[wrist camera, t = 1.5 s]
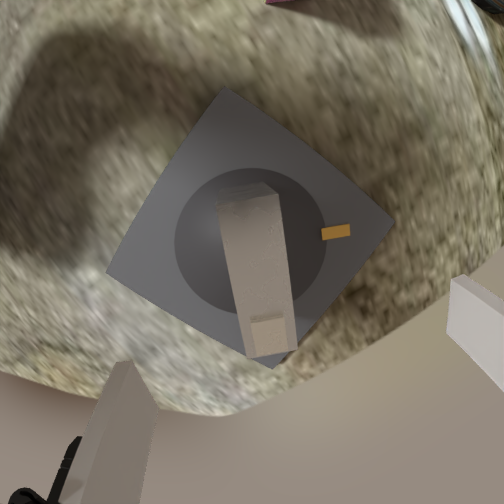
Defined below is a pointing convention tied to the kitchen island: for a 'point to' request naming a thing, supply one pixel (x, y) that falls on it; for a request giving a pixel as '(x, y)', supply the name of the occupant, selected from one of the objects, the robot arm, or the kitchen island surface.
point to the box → (272, 0)
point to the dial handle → (258, 267)
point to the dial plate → (208, 230)
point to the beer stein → (491, 5)
